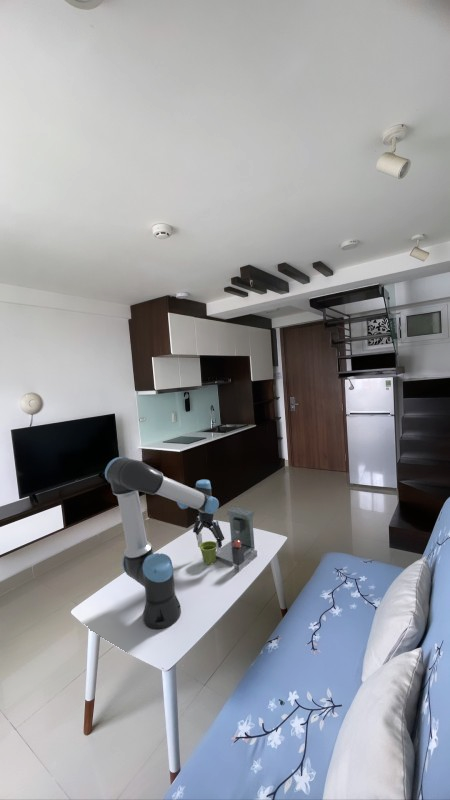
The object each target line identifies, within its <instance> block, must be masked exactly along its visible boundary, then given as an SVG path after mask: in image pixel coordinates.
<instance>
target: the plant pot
mask: <svg viewBox="0 0 450 800" xmlns="http://www.w3.org/2000/svg"><path fill="white" fill-rule="evenodd" d="M198 548H199V549H200V551H201V556H202V560H203V564H206V565H213V564H215V562H216V560H217V559H216V551H217V547H216V541H212V540H208V541H202V544H200V546H199V547H198Z"/></svg>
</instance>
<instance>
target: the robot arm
mask: <svg viewBox="0 0 450 800" xmlns="http://www.w3.org/2000/svg"><path fill="white" fill-rule="evenodd" d="M104 477H105V479H106V480H107V482H108V483H109V484H110V486H111V491H112V494H113V495H115V496H116V498H117V502H118V506H119V511H120V516H121V518H120V519H121V523H122V527H123V528H122V529H123V533H124V539H125V545H126V548H125V549H124V551H123V552H124V553H123V554H124V555H123V558H122V561H121V565H122V569H123V571H124V572H125V574H126V575H127V576H128V577H130V578H131V579H133V580H134V581H135V582H137V583H139V584H140V585H141V586H142V587H144V592H145V603H144V609H143V613H142V618H143V624H144V625H145V626H146V627H147V628H149V629H152V630H162V629H166V628H169V627H171V626H172V625H174V624H175V623H176V622H177V621H178V620H179V618H180V617H181V614H182V613H181V612H182V611H181V610H182V609H181V607H182V606H181V603H180V601H179V599H178V597H177V594H176V592H175V579H174V577H175V576H174V565H173V562H172V559H171V557H170V556H169V555H167V554H166V553H163V552H162V553H159V552H156V553H154V552H153V547H152V545H153V544H152V543H151V542H150V541H148V539H147V533H146V528H145V522H144V517H143V511H142V506H141V500H140V495H139V492H142V493H145V494H149V495H152V496H153V495H159V496H161V497H164V498H167V499H169V500H172V501H174V502H176V504H177V506H178V507H179V508H180V509H181V510H185V509H188V508H191V509H194V510H197V511H198V516H196V517H195V523H194V526H193V528H192V533H195V535H196V540H197V547H198V548H199V546H200V544H202V543H203V535H202V531H203V529H204V528H206V529H208V530H209V531H210V532H211V533H212V535H213V536H214V538H215V540H216V541H215V542H216V547H217V548H216V551H217V554H219V553H221V552H222V550H221V548H222V547H223V545H222V543H223V542H222V541H224V540H225V539H226V538H225V536H224V533H223V532H222V529H221V527H220V525H219V521H218V520H214V514H215V513H216V512H217V511H218V510H219V506H220V502H219V500H218V498H216V497H214V496H212V486H211V481H210V480H209V479H200V480H197V481H196V483H195V487H194V488H192V487H189V486H188V485H185V484H183V483H181V482H178V481H176V480H174V479H172V478H168V477H167V476H164V474H163V472H162V471H159V470H158V469H156V468H154V467H152V466H151V465H148V464H146V463H145V462H143V461H140V460H137V459H132V458H128V457H125V456H122V457H121V456H120V457H119V456H118V457H115V458H113V459H112V460H110V461H109V462H108V463H107V466H106V467H105V470H104Z"/></svg>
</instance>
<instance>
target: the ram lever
mask: <svg viewBox="0 0 450 800" xmlns="http://www.w3.org/2000/svg"><path fill="white" fill-rule="evenodd" d="M232 556H233V563H235V564H237V565H240V564H242V563H243V562H244V551H243V546H242V545H241V542H240V541H239V540H235V541H234V543H233V547H232Z"/></svg>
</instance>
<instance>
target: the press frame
mask: <svg viewBox="0 0 450 800" xmlns="http://www.w3.org/2000/svg"><path fill="white" fill-rule="evenodd" d="M226 512H227V514H226V515H227V516H229V528H230V541H229V542H227V543H226V544H224V545H222V547H221V550H222V552H221V553H219V554H217V550H216V560H217V561H219V562H222V563H223V564H224V563H225V564H227V565H230V566H231V567H232V566H233V568H234V569H233V570H234V571H237V572H240V571H241V570H243V569H244V568H245V567H246V566H247V565H249V564H251V563H252V561H254V560H255V559H256V558H258V550H256V549H255V535H254V534H255V533H254V522H253V517H254V516H255V514H254V511H252V510H249V509H244V508H240V507H235V506H233V507H231V508H229V509H227V510H226ZM235 540H239V541H240V542H241V545H242V546H243V551H244V562H243V563H242V564H240V565H237V564H235V563H233V556H232V547H233V543H234V541H235Z"/></svg>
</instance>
